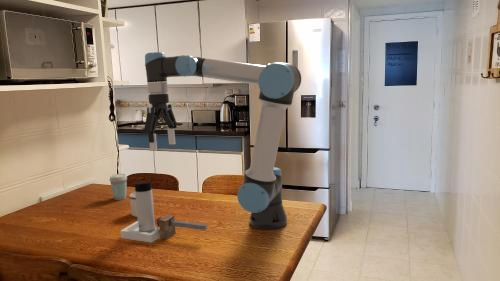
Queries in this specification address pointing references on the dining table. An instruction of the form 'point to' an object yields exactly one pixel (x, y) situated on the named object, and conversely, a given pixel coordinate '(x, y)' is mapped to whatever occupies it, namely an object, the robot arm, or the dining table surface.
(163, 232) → the pin mount
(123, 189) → the coffee cup
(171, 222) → the pin
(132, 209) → the teacup with lid
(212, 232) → the dining table surface
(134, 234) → the tray
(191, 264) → the dining table surface
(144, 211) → the travel mug
